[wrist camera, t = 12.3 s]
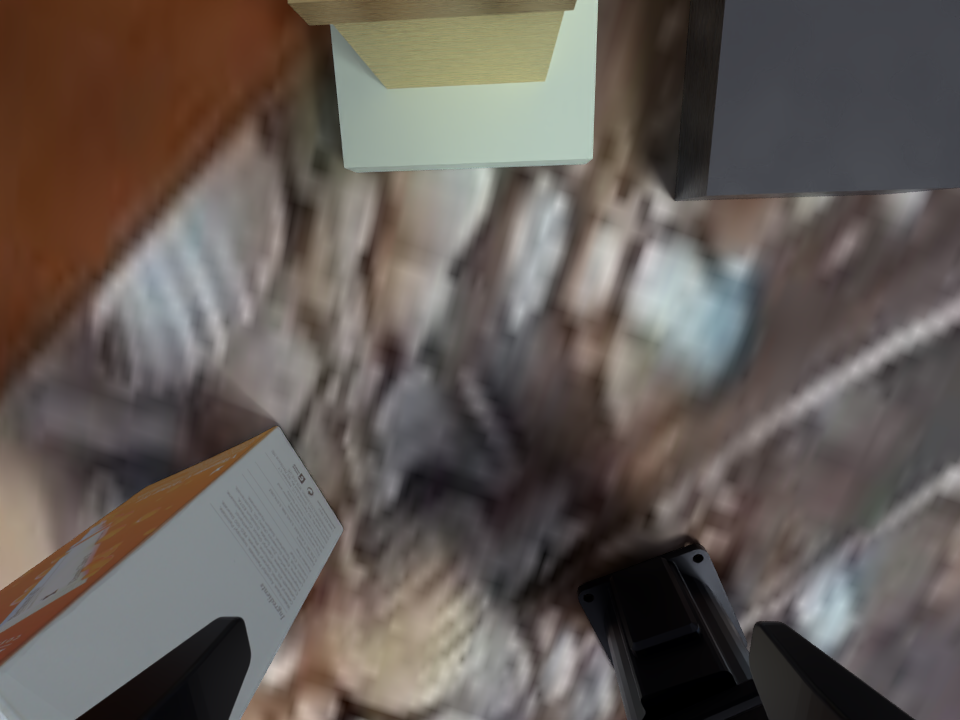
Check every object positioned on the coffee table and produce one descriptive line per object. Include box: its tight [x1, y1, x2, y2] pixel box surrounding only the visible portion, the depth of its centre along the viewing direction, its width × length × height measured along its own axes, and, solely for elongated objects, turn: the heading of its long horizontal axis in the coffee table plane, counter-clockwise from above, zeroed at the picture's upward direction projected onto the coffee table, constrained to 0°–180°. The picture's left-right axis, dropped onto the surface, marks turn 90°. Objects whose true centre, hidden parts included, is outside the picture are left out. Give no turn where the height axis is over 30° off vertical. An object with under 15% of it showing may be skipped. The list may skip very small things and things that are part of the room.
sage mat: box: [330, 0, 598, 173], centre depth 16 cm, size 9×9×2 cm
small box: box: [0, 426, 343, 720], centre depth 17 cm, size 8×6×13 cm
